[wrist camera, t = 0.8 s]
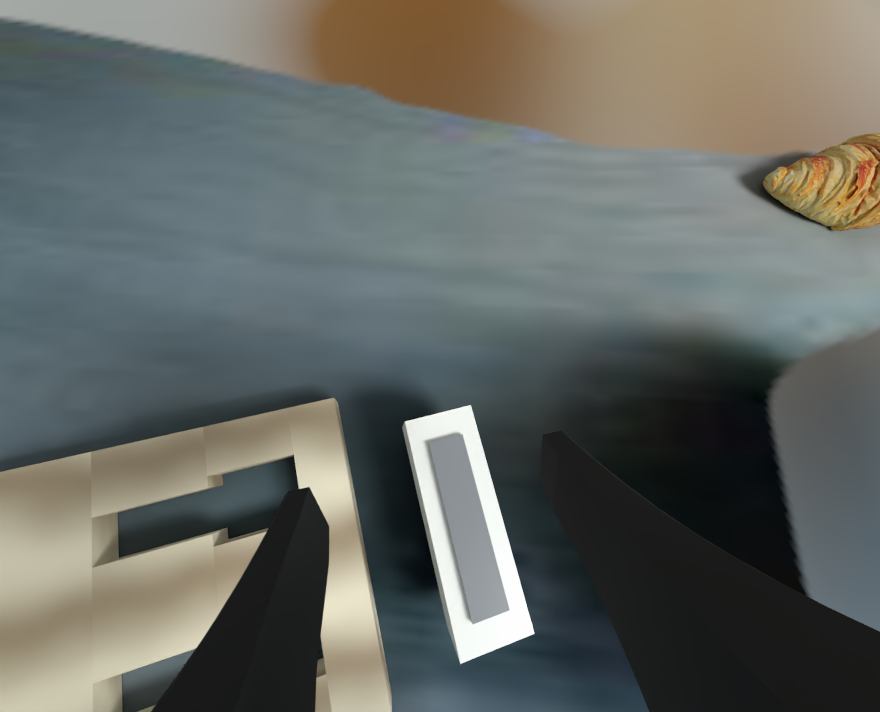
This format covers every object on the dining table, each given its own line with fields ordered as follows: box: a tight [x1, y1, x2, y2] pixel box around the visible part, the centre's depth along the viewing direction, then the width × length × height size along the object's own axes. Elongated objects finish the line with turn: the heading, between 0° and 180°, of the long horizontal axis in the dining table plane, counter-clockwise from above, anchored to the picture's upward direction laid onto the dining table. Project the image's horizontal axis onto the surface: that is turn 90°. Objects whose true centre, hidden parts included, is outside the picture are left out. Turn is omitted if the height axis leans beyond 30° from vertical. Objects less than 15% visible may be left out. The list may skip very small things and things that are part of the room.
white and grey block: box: [402, 405, 534, 664], centre depth 21 cm, size 12×4×6 cm, turn 15°
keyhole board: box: [0, 398, 392, 712], centre depth 20 cm, size 18×20×2 cm
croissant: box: [763, 133, 880, 231], centre depth 37 cm, size 21×10×8 cm, turn 93°
